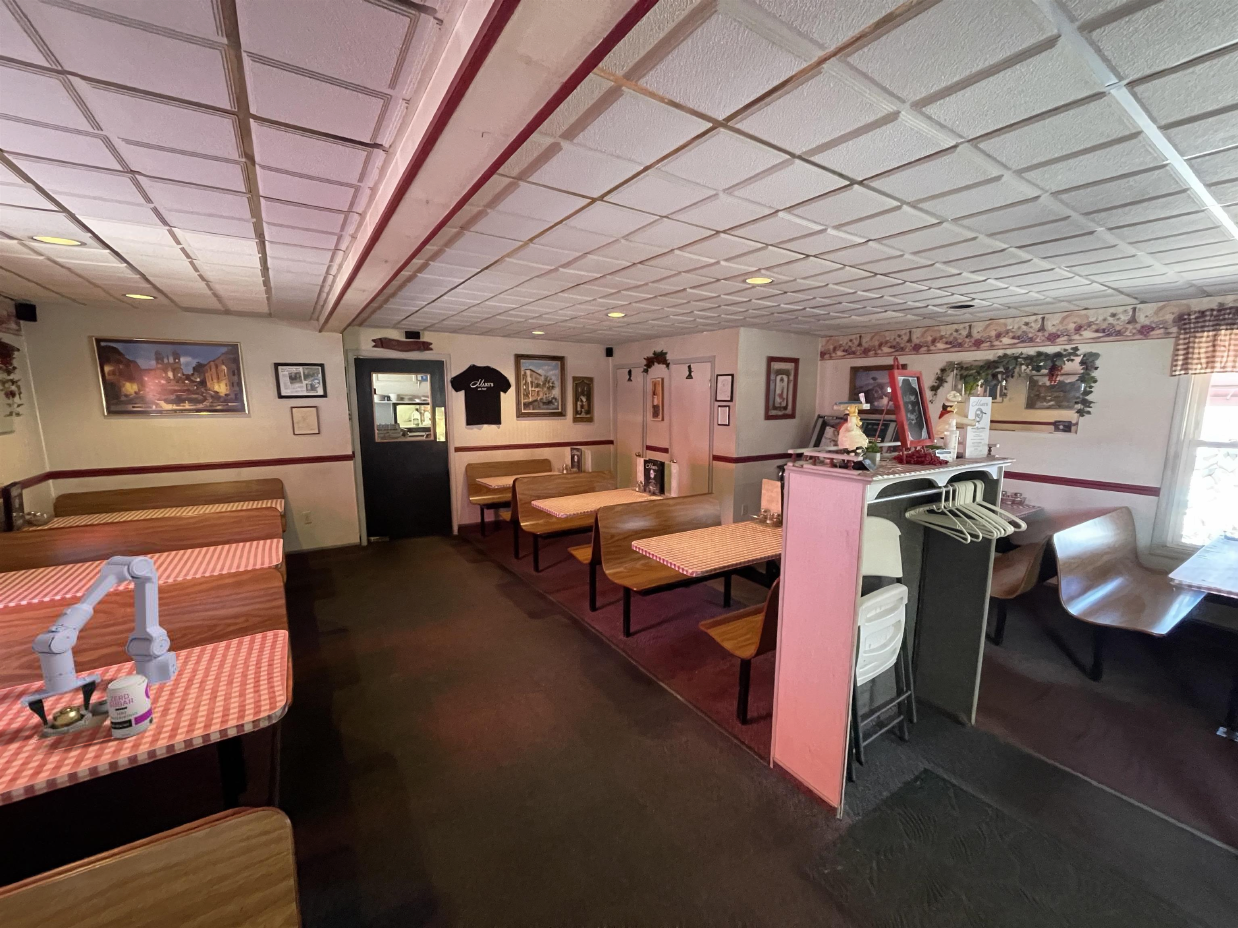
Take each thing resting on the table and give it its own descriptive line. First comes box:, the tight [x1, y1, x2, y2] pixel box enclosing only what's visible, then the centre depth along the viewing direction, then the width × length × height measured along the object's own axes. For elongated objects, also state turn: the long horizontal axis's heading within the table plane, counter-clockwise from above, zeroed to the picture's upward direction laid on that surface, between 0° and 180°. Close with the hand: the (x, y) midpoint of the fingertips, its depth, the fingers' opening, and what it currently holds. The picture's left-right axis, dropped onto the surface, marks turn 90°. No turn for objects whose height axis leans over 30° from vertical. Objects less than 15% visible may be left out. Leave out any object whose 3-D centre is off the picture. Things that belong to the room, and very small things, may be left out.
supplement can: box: [105, 673, 154, 739], centre depth 133 cm, size 8×8×15 cm
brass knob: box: [51, 705, 81, 730], centre depth 135 cm, size 5×5×5 cm
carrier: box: [35, 698, 110, 742], centre depth 139 cm, size 13×16×4 cm
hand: (66, 716), depth 134 cm, fingers open, 7 cm apart
